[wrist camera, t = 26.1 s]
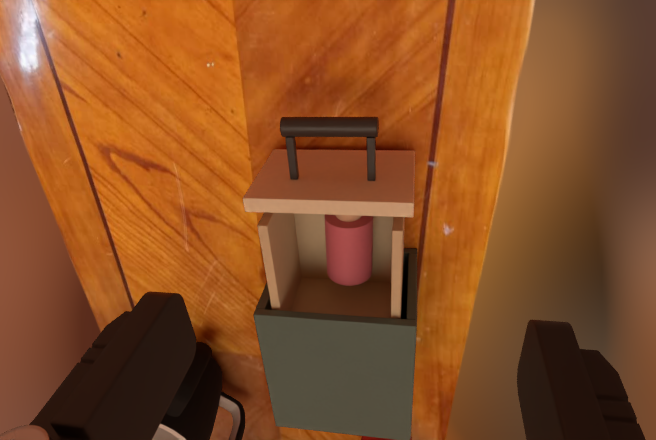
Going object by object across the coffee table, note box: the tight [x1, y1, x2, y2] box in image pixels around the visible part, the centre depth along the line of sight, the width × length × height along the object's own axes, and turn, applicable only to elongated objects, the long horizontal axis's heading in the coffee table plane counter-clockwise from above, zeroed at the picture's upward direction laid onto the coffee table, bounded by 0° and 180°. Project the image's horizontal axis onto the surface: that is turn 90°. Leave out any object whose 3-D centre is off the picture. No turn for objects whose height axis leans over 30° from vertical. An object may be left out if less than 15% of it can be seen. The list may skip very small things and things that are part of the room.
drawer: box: [243, 117, 415, 319], centre depth 39 cm, size 19×12×9 cm, turn 4°
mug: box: [152, 342, 245, 440], centre depth 57 cm, size 16×16×12 cm
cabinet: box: [254, 248, 417, 440], centre depth 47 cm, size 16×14×11 cm
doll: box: [325, 214, 373, 286], centre depth 41 cm, size 4×4×8 cm
